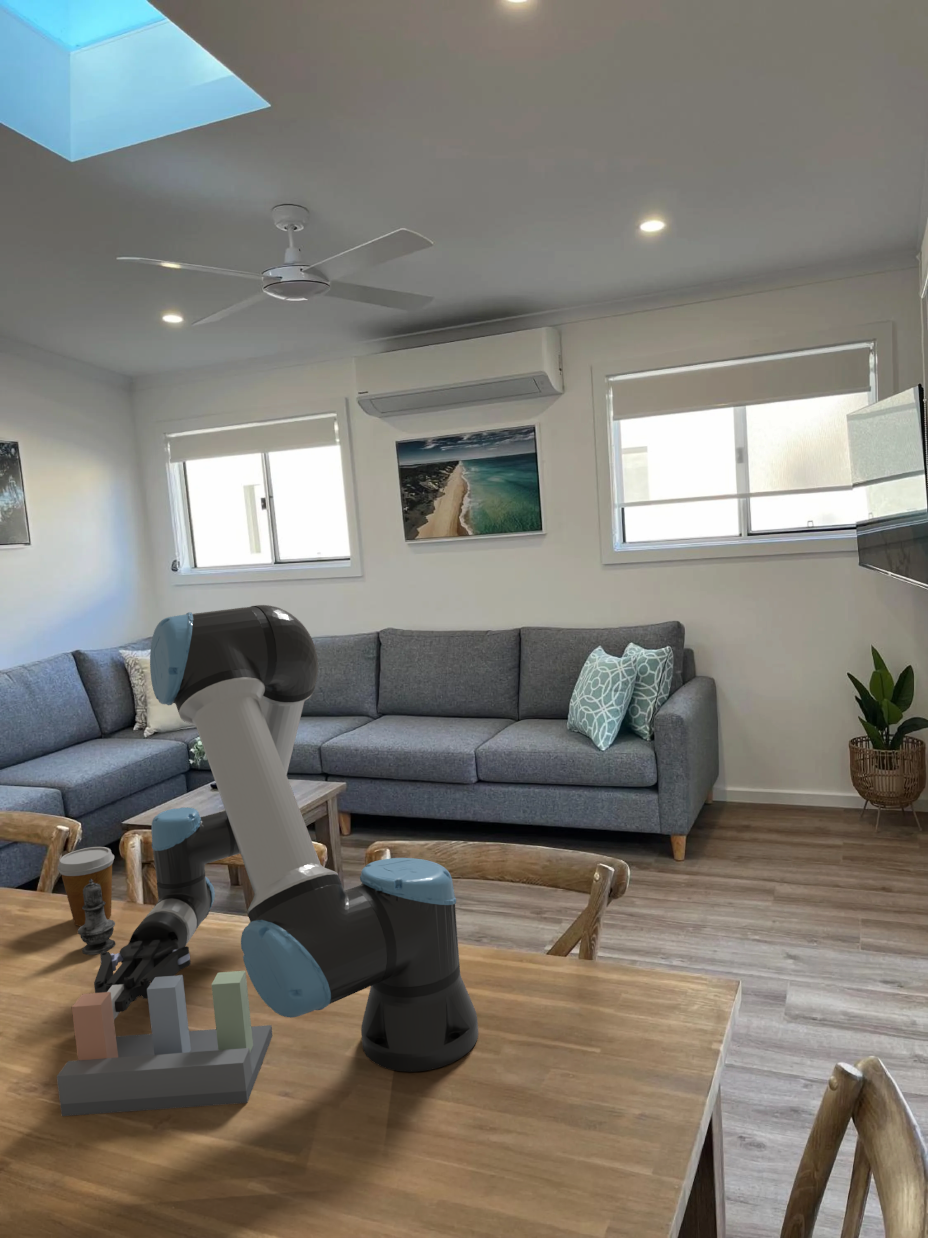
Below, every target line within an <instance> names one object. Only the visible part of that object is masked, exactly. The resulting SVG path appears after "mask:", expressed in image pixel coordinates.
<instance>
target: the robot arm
mask: <svg viewBox="0 0 928 1238" xmlns="http://www.w3.org/2000/svg"><path fill="white" fill-rule="evenodd" d="M150 643H151V644H150V653H149V669H150V680H151V685H152V686H151V687H152V690H153V693H154V697H155V699H157V700H158V702H159V703H160V704H161V705H167V706H172V705H173V704H174V705H175V706H176V709H177V711H178V712H177V713H178V715H179V717H180V719H181V721H182V722H184V723H187V724H190V725H192V726H194V727H196V730H197V733H198V735H199V736H198V737H199V739H200V741H201V744H202V747H203V751H204V753H205V757H206V759H207V762H208V764H209V768H210V769H211V773H212V776H213V779H214V782H215V785H216V787H217V791H218V793H219V796H220V798H221V801H222V805H223V809H224V810H223V811H219V812H215V813H211V814H208V815H203V816H200V813H199V811H198V810H197V809H195V808H193V807H184V806H183V807H179V808H169V809H167V810H164V811H162V812H160V813H158V814H156V815H155V816H154V817H153V819H152V821H151V848H152V854H153V863H154V869H155V877H156V891H157V899H158V900H157V902H156V904H155V905H154V906H153V908H152V909H151V910H150V911H149V913H148V914H146V916H145V917H144V918H143V920H142V921H141V922H140V924H138V925H137V927H136V928H135V930H133V932H132V933H131V936H130V939H129V942H128V944H126V945H125V946H122V947H121V948H120V950H119V952H118V953H113V952H112V953H110V951H105V952H102V953H100V954H99V957H100V965H99V968H98V970H97V974H96V977H95V978H94V979H95V980H94V981H93V986H94V987H93V988H94V993H103V992H111V1000H112V1009H113V1017H114V1021H115V1019H116V1018H117V1017H118V1016H119V1014H120V1013H122V1012H125V1011H126V1010H127V1009H128V1008H129V1007H130V1005H131V1004H132V1003H133V1002H135V1001H137V999H138V998H140V997H142V999H144V1000H145V999H146V1000H148V995H147V988H148V987H149V985H150V984H151V983H152V981H153V980H154V978H155V977H164V976H176V974H177V973H179V971H181V970H183V969H186V968H187V967H189V966H190V965H191V957H190V956H191V955H190V947H189V946H188V943H189V942H190V940H191V939H192V937H193V936H194V934H195V932H197V929H198V928H199V926H200V925H201V923H203V921H204V920H205V919H206V918H207V917H208V915H209V913H210V911H211V909H212V907H213V904H214V901H215V896H216V894H215V892H216V891H215V887H214V886H213V885H214V884H212V882H211V881H210V879H209V877H207V876H206V865H207V864H210V863H213V862H216V861H220V860H223V859H226V858H229V857H233V856H236V855H240V856H241V860H242V862H243V865H244V869H245V870H246V873H247V876H248V879H249V882H250V885H251V888H252V891H253V893H254V894H253V899H252V901H251V903H250V904H249V907H248V909H247V912H246V913H247V916H248V917H247V918H248V919H249V923H248V924H247V925H246V926H245V927H244V929H243V930H242V933H241V936H240V946H241V947H240V949H241V951H242V953H243V955H242V958H243V964H244V966H245V969H246V970H245V971H247V972H246V973H247V975H248V977H249V979H250V982H251V983H252V986H253V987H254V990H255V991H256V993H257V994H258V996H259V997H260V999H261V1000H262V1001H263V1002H264V1003H265V1004H266V1006H267V1007H269V1008H270V1009H271V1010H273V1012H274V1013H276V1014H278V1015H280V1016H282V1017H285V1018H291V1019H292V1018H297V1017H300V1016H303V1015H306V1014H309V1013H312V1012H314V1011H321V1010H324V1009H325V1008H327V1007H328V1006H329V1005H331V1004H334V1003H336V1002H338V1001H339V1000H342V999H344V998H347V997H349V996H352V995H353V994H356V993H358V992H360V991H362V990H365V989H367V988H369V987H370V988H369V993H368V997H367V1002H366V1006H365V1010H364V1014H363V1019H362V1022H361V1027H360V1028H361V1029H360V1031H361V1042H362V1043H361V1044H362V1049H363V1052H364V1054H365V1056H366V1057H367V1058H368V1059H369V1061H371V1062H372V1063H374V1064H375V1065H377V1066H380V1067H382V1068H385V1069H388V1070H392V1071H397V1072H425V1071H430V1070H435V1069H440V1068H441V1067H445V1066H448V1065H450V1064H452V1063H454V1062H456V1061H458V1060H460V1059H461V1058H463V1057H464V1056H466V1055H467V1054H468V1053H469V1052H470V1051H471V1050H472V1049H473V1048H474V1047H475V1045H476V1043H477V1041H478V1038H479V1023H478V1016H477V1012H476V1008H475V1005H474V1004H473V1001H472V999H471V997H470V993H468V989H467V987H466V985H465V983H464V980H463V978H462V976H461V967H460V964H461V963H460V952H459V939H458V926H457V915H456V914H457V911H456V904H457V898H456V895H455V890H454V889H455V888H454V884H453V883H454V882H453V878H452V876H451V873H450V872H449V870H448V869H447V868H446V867H444V866H443V865H441V864H439V863H436V862H434V861H431V860H427V859H423V858H422V859H421V858H413V857H393V858H392V857H390V858H385V859H379V860H375V861H371V862H370V863H367V864H366V865H365V866H364V867H363V868H362V869H361V874H360V876H359V880H360V882H361V883H360V885H359V884H358V885H357V886H354V887H352V888H348V889H345V888H344V886H343V884H342V881H341V879H340V876H339V874H338V872H336V871H334V870H332V869H329V868H328V867H327V868H326V867H324V866H323V865H322V864H321V861H320V859H319V857H318V854H317V851H316V848H315V846H314V844H313V840H312V838H311V836H310V833H309V830H308V828H307V824H306V823H305V820H304V817H303V815H302V812H301V810H300V807H299V804H298V802H297V799H296V796H295V795H294V792H293V788H292V787H291V783H290V781H289V778H288V771H289V765H290V763H291V758H292V754H293V749H294V746H295V742H296V738H297V735H298V730H299V725H300V721H301V716H302V713H303V709H304V704H305V701H306V700H307V701H308V699H309V698H311V697H312V695H313V693H314V691H315V688H316V683H317V679H318V674H319V673H318V672H319V660H318V652H317V649H316V646H315V644H314V640H313V637H312V636H311V634H310V632H309V631H308V630H307V628H306V627H305V625H304V624H303V623H302V622H301V621H300V620H299V619H298V618H297V617H296V616H295V615H293V614H292V613H290V612H288V611H287V610H285V609H283V608H280V607H277V606H273V605H269V604H267V605H266V604H255V605H251V606H246V607H245V606H244V607H243V606H242V607H237V608H230V609H228V608H227V609H220V610H212V611H204V612H198V613H197V612H196V613H192V612H190V611H189V612H187V613H186V614H180V615H172V616H168V617H165V618H163V619H162V620H161V621H159V623H157V625H156V626H155V628H154V631H153V634H152V638H151V641H150ZM120 963H121V964H120ZM118 964H120V965H119V966H118ZM117 966H118V968H117Z"/></svg>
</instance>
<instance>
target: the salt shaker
mask: <svg viewBox="0 0 928 1238" xmlns="http://www.w3.org/2000/svg"><path fill="white" fill-rule="evenodd" d="M89 882H90V883H89V884H88V885H86V886H85V887H84V889H83V897H84V906H83V907H82V909H83V910H85V917H86V920H85V924H84V925H83V926H79V928H78V929H77V934H78V935H79V936H80V939H81V940H82V942H83V943H85V944H86V945H84V946H83V947H82V949H81V953H82V954H84V955H88V956H92V955H100V954H101V953H102V952H105V951H107V952H109V951H110V950H112V949H113V948H114V947H115V946H116V941H115V940H114V939H111V938H112V935H113V933H114V930H115V929H114V927H115V926H116V921H115V920H113V919H111V918H109V919H106V916H105V912H104V905H105V902H104V901H103V900H102V891H101V886H100V885H99V884H97V883H93V880H92V879H90V880H89Z"/></svg>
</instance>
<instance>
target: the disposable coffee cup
mask: <svg viewBox="0 0 928 1238" xmlns="http://www.w3.org/2000/svg"><path fill="white" fill-rule="evenodd" d="M114 859H115V855H114V854H113V853H112V850H111V848H109V847H105V846H91V847H85V848H81V849H77V850H74V851H71V852H69V853H66V854H64V855H63V856H61V857H60V858H59V863H58V865H57V871H58V872H59V874H60V875H61V878H62V882H63V885H64V890H65V894H66V897H67V902H68V905H69V908H70V912H71V915H72V919H73V924H74V925H75V926H77V927H81V926H83V925H84V924H85V920H86V917H85V910H83V909H82V907H83V906H84V897H83V889H84V887H85V886H86V885H88V884H89V883H90V882H89V880H90V879H92V880H93V883H97V884H99V885H100V886H101V891H102V900H103V901H104V902H105V905H104V912H105V916H106V919H111V917H112V895H113V894H112V893H113V892H112V891H113V890H112V888H113V887H112V886H113V863H114Z"/></svg>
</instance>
